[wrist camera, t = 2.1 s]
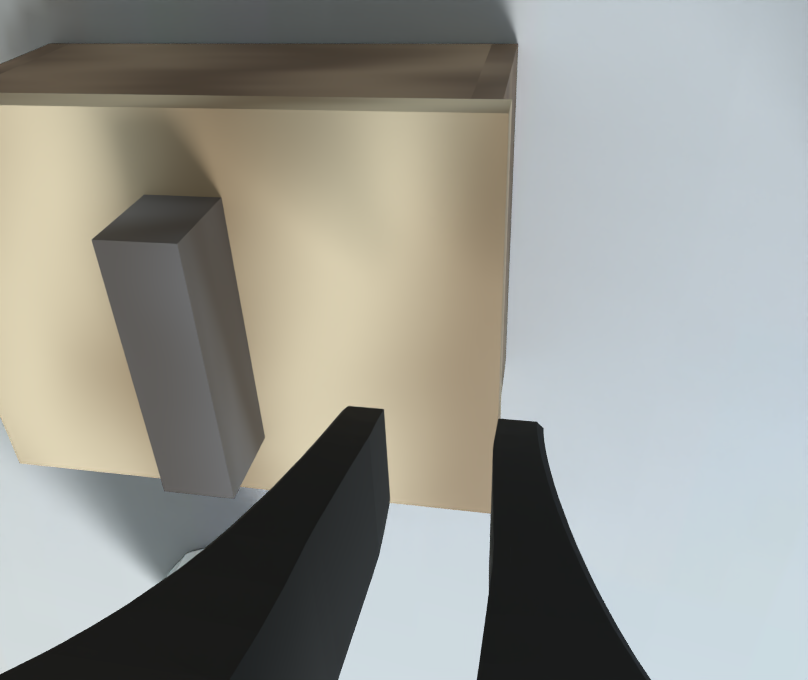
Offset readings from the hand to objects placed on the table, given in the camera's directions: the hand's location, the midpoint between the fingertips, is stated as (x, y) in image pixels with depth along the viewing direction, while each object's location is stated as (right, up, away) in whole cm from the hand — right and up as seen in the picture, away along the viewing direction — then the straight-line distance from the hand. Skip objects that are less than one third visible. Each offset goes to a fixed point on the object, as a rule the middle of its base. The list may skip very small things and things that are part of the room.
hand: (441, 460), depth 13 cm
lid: (-5, +3, +5) cm, 7 cm away
